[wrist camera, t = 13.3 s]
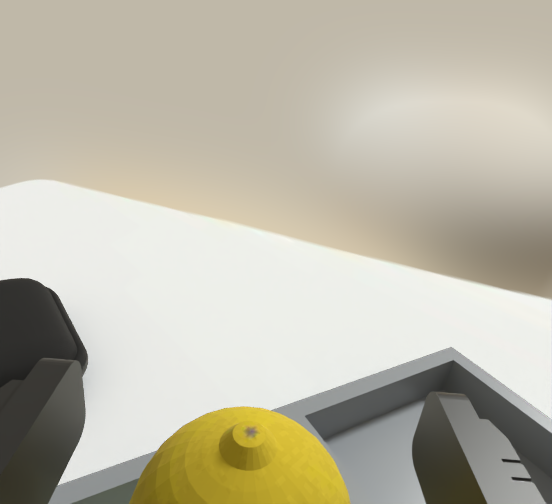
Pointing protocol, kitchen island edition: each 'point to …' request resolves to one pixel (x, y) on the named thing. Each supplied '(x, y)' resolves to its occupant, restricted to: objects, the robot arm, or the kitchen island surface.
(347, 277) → the kitchen island surface
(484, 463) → the robot arm
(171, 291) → the kitchen island surface
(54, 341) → the carrying case or bag
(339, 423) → the organiser tray
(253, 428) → the lemon
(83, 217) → the kitchen island surface
